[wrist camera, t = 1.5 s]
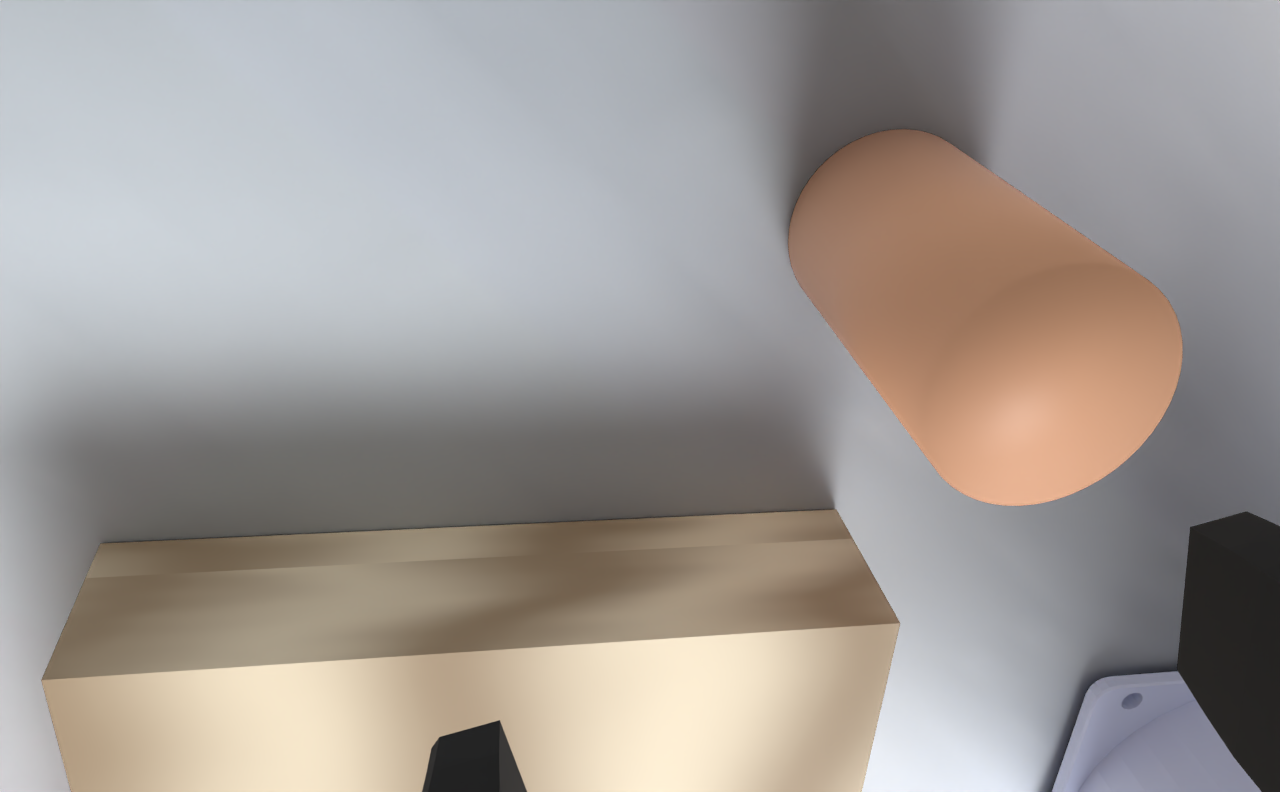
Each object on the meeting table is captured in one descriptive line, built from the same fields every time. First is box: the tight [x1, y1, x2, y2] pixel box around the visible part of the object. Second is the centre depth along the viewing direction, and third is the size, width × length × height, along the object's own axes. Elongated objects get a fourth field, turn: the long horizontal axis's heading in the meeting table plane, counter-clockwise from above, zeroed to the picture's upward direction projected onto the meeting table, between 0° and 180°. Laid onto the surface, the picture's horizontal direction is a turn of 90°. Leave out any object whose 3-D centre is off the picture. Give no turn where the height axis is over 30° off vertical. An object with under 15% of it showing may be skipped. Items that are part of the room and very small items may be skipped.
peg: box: [788, 129, 1182, 506], centre depth 17 cm, size 4×4×6 cm
